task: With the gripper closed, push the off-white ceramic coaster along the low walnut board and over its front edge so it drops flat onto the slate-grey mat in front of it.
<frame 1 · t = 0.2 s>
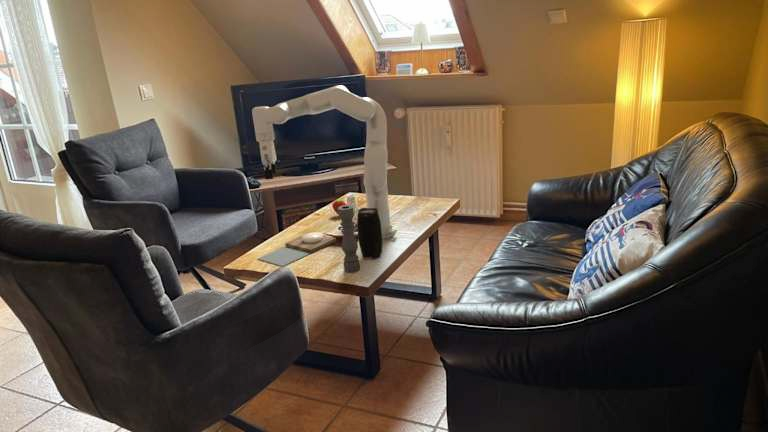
hand: (271, 176, 238), 31 cm above the table, tool pointing down, fingers open, 9 cm apart
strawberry: (340, 216, 278), on the table
candle holder: (352, 270, 212), on the table
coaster: (313, 239, 243), point 2 cm above the table, touching riser
riser: (311, 244, 242), on the table
mat: (284, 256, 231), on the table
portable speaker: (372, 256, 223), on the table
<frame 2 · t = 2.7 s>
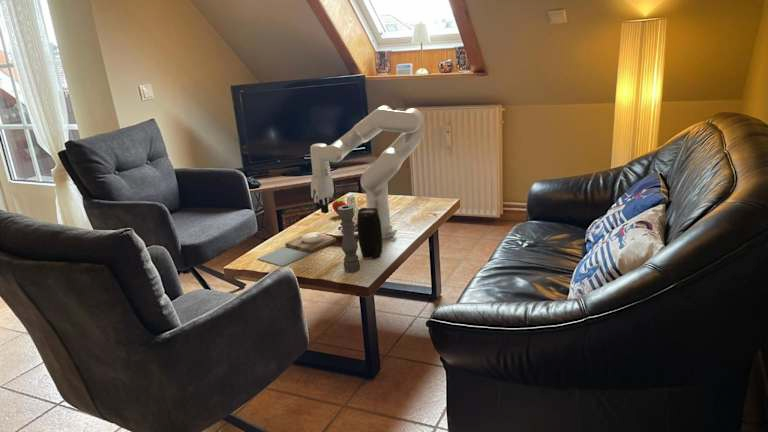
hand: (324, 212, 247), 11 cm above the table, tool pointing down, fingers closed
nothing on the table moved.
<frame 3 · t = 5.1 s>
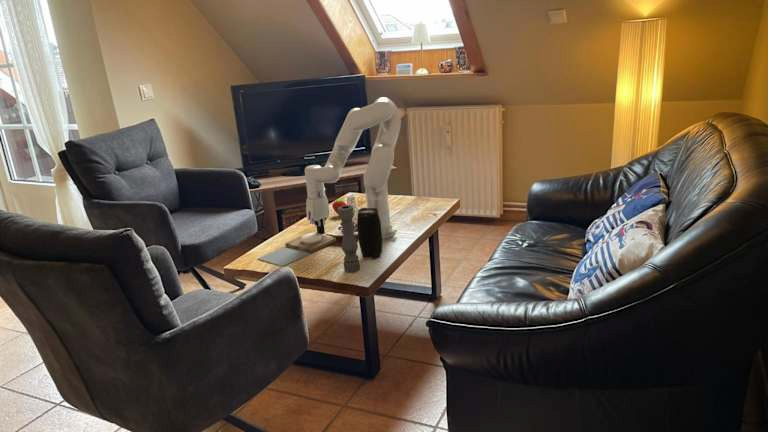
hand: (321, 233, 246), 3 cm above the table, tool pointing down, fingers closed
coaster: (312, 240, 242), point 2 cm above the table, touching gripper, riser
everything else where it was.
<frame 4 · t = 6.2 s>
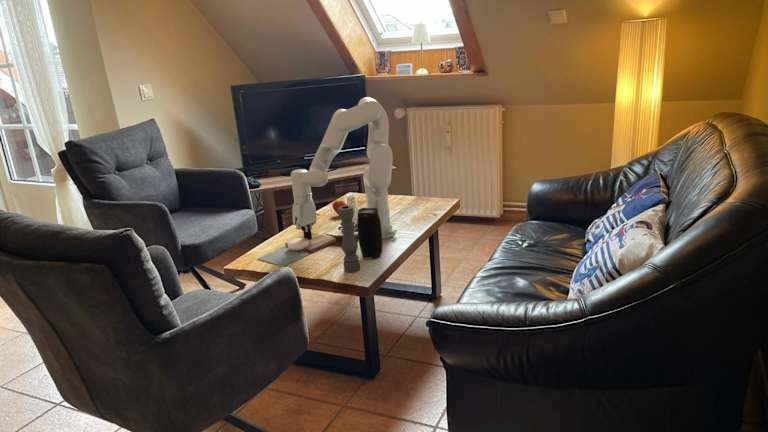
hand: (308, 239, 240), 3 cm above the table, tool pointing down, fingers closed
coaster: (298, 245, 236), point 2 cm above the table, touching gripper
everything else where it was.
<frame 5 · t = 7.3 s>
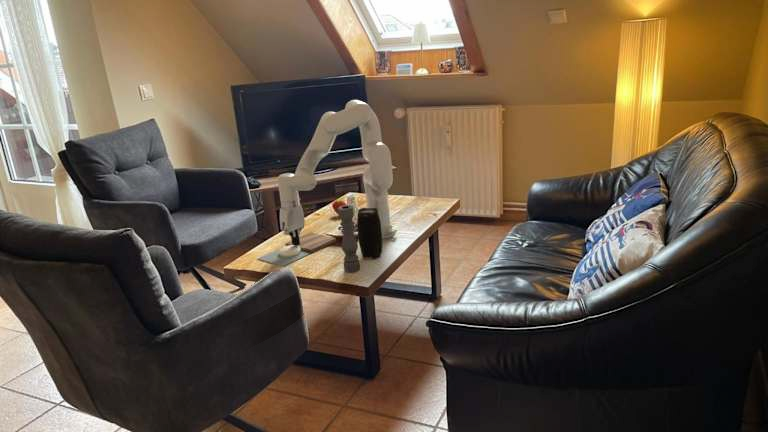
hand: (296, 244, 235), 3 cm above the table, tool pointing down, fingers closed
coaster: (290, 253, 233), resting on mat
everything else where it was.
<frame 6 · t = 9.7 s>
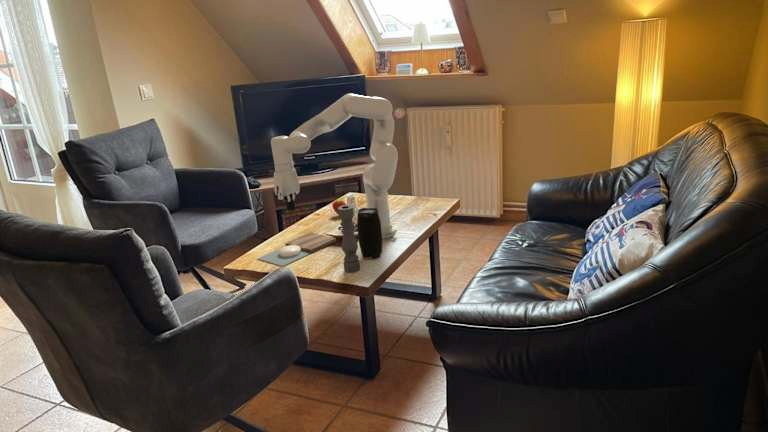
hand: (291, 209, 230), 18 cm above the table, tool pointing down, fingers closed
nothing on the table moved.
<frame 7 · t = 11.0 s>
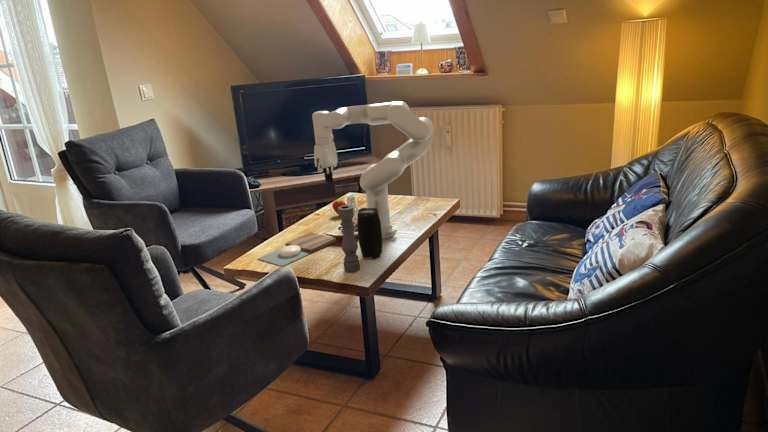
hand: (329, 181, 243), 25 cm above the table, tool pointing down, fingers closed
nothing on the table moved.
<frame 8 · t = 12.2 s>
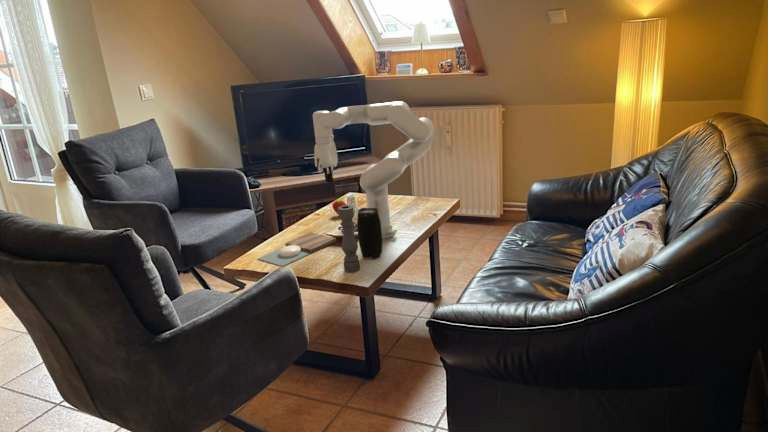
hand: (329, 181, 243), 25 cm above the table, tool pointing down, fingers closed
nothing on the table moved.
at the end: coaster inside the target area (3.6 cm from its centre), resting on mat; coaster tilted 0°; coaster touching mat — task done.
